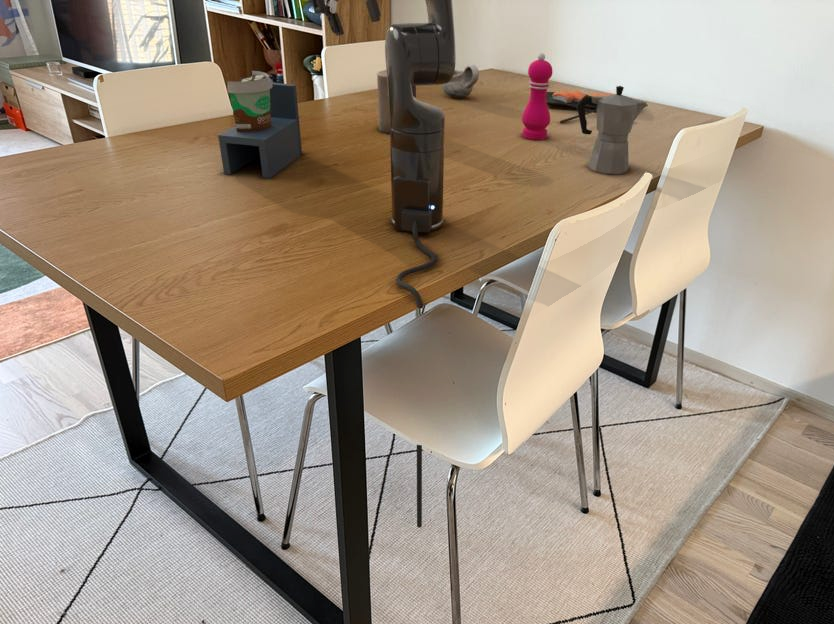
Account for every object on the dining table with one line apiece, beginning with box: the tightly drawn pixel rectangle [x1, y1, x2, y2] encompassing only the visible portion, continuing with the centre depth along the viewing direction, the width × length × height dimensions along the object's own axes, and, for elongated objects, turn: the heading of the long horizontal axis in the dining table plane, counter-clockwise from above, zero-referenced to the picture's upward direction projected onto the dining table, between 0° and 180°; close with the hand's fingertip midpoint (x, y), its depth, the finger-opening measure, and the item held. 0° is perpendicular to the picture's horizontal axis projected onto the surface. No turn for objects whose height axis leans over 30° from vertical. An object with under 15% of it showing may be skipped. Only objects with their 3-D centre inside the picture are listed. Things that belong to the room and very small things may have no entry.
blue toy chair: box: [217, 82, 303, 179], centre depth 149 cm, size 18×10×15 cm, turn 170°
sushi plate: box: [546, 90, 614, 124], centre depth 204 cm, size 29×30×4 cm
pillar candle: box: [376, 69, 417, 134], centre depth 176 cm, size 10×10×15 cm
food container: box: [226, 70, 273, 132], centre depth 145 cm, size 12×6×10 cm, turn 171°
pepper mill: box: [521, 52, 553, 141], centre depth 175 cm, size 7×7×20 cm
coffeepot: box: [576, 85, 649, 175], centre depth 156 cm, size 15×9×18 cm, turn 88°
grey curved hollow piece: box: [441, 64, 480, 99], centre depth 211 cm, size 10×12×10 cm
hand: (358, 27), depth 133 cm, fingers open, 8 cm apart
